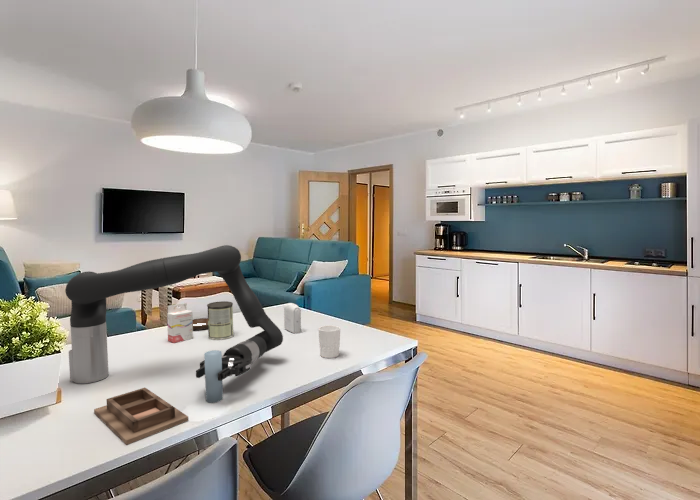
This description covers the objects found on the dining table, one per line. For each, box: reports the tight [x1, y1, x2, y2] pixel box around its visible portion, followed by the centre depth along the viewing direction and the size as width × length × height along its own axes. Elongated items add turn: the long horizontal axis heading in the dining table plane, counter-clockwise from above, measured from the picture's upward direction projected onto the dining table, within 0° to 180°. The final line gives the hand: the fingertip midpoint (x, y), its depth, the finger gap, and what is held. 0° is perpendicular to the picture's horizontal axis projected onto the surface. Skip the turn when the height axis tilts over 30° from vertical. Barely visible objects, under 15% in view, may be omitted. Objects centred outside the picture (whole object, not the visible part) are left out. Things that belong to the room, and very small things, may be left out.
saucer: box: [193, 317, 208, 331], centre depth 183 cm, size 15×15×3 cm
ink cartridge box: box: [166, 302, 194, 344], centre depth 163 cm, size 9×5×15 cm, turn 141°
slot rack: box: [93, 387, 190, 446], centre depth 99 cm, size 22×14×4 cm, turn 49°
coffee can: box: [206, 300, 234, 341], centre depth 167 cm, size 10×10×14 cm
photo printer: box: [283, 302, 302, 334], centre depth 176 cm, size 10×4×12 cm, turn 36°
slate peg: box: [203, 349, 224, 404], centre depth 108 cm, size 4×4×13 cm
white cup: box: [318, 324, 341, 359], centre depth 143 cm, size 8×8×10 cm
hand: (208, 375), depth 106 cm, fingers open, 6 cm apart
